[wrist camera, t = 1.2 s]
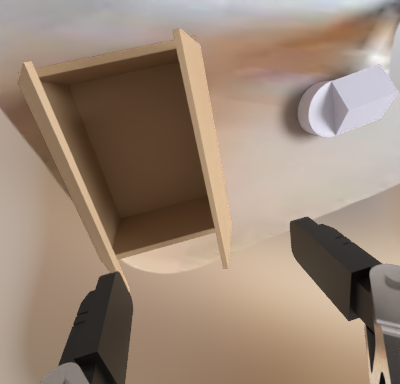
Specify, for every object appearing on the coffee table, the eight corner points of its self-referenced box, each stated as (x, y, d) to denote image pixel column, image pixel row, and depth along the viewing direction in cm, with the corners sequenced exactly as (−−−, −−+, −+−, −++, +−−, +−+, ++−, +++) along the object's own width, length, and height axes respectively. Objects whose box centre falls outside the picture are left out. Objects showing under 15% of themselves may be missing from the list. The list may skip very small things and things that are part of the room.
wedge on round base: (363, 66, 41) (294, 91, 40) (399, 60, 35) (318, 89, 34) (364, 117, 45) (301, 141, 44) (397, 120, 38) (324, 147, 38)
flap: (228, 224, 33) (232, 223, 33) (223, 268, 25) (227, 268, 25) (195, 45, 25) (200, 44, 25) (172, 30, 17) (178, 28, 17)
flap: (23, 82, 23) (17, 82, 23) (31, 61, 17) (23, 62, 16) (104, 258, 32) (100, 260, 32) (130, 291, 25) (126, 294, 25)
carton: (62, 81, 34) (17, 72, 23) (183, 55, 36) (195, 35, 25) (118, 221, 44) (105, 263, 33) (212, 196, 45) (230, 228, 34)
